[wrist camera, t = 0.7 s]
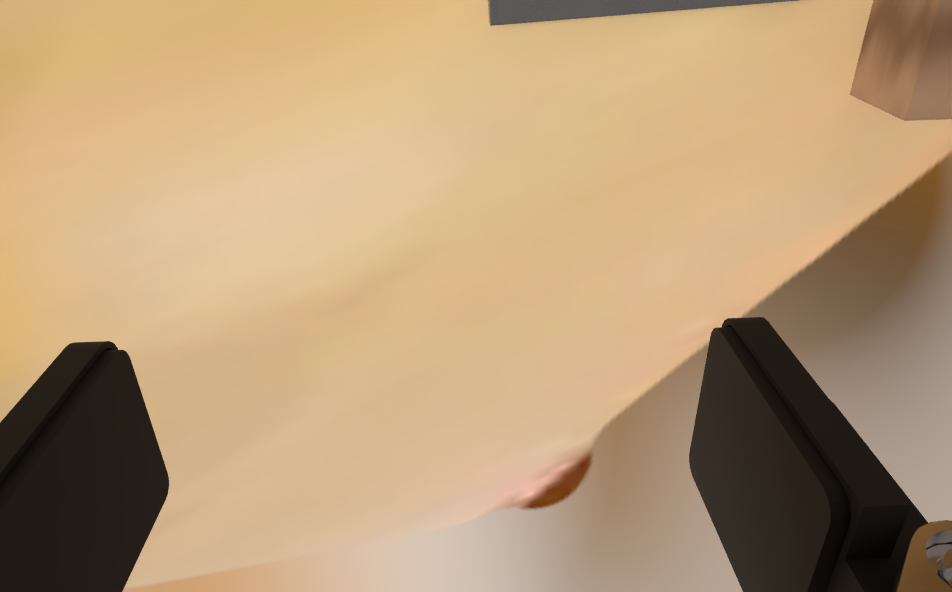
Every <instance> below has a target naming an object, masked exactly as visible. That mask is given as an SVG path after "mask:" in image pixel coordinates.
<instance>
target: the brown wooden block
mask: <svg viewBox="0 0 952 592" xmlns="http://www.w3.org/2000/svg"><path fill="white" fill-rule="evenodd" d="M850 95H852V96H854V97H856V98H858V99H860V100H862V101H864V102H866V103H868V104H871V105H873V106H875V107H877V108H879V109H881V110H883V111H885V112H887V113H889V114H892V115H894V116H896V117H898V118H900V119H902V120H904V121H909V120H938V119H952V0H874V1H873V5H872V9H871V13H870V17H869V20H868V24H867V28H866V32H865V36H864V40H863V44H862V48H861V52H860V56H859V60H858V64H857V68H856V72H855V76H854V80H853V84H852V88H851V92H850Z"/></svg>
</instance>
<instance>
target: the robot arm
mask: <svg viewBox="0 0 952 592" xmlns="http://www.w3.org/2000/svg"><path fill="white" fill-rule="evenodd" d="M689 462H690V469H691V473H692V476H693V478H694V481H695V483H696V485H697V487H698V490H699V492H700V494H701V497H702V499H703V501H704V503H705V506H706V508H707V510H708V513H709V515H710V517H711V519H712V522H713V524H714V526H715V528H716V531H717V533H718V535H719V537H720V540H721V542H722V544H723V547H724V549H725V551H726V554H727V556H728V558H729V561H730V563H731V565H732V567H733V570H734V572H735V574H736V577H737V578H738V581H739V583H740V586H741V588H742V590H743V592H952V521H948V520H944V521H937V522H929V523H928V522H927V521H926V520H925V518H924V517H923V516H922V514H921V513H920V512H919V511H918V509H917V508H916V507H915V506H914V504H913V503H912V502H911V501H910V499H909V498H908V497H907V496H906V494H905V493H904V492H903V490H902V489H901V488H900V487H899V485H898V484H897V483H896V482H895V480H894V479H893V478H892V476H891V475H890V474H889V473H888V472H887V470H886V469H885V468H884V467H883V465H882V464H881V463H880V461H879V460H878V459H877V458H876V456H875V455H874V454H873V452H872V451H871V450H870V449H869V447H868V446H867V445H866V443H865V442H864V441H863V440H862V438H861V437H860V436H859V435H858V434H857V432H856V431H855V430H854V429H853V427H852V426H851V424H850V423H849V422H848V421H847V419H846V418H845V417H844V416H843V414H842V413H841V412H840V411H839V409H838V408H837V407H836V406H835V404H834V403H833V402H831V400H830V399H828V397H827V396H826V395H825V394H824V392H823V391H822V390H821V389H820V387H819V386H818V385H817V383H816V382H815V381H814V379H813V378H812V377H811V376H810V374H809V373H808V372H807V371H806V369H805V368H804V367H803V365H802V364H801V363H800V362H799V360H798V359H797V358H796V357H795V355H794V354H793V353H792V351H791V350H790V349H789V348H788V347H787V345H786V344H785V343H784V341H783V340H782V339H781V338H780V336H779V335H778V334H777V333H776V331H775V330H774V329H773V327H772V326H771V325H770V323H769V322H768V321H767V320H766V319H765V318H762V317H756V318H755V317H754V318H728V319H726V320H725V321H724V323H723V324H722V328H715V329H713V331H712V333H711V337H710V342H709V348H708V353H707V359H706V364H705V370H704V376H703V381H702V386H701V392H700V398H699V404H698V409H697V414H696V420H695V425H694V431H693V436H692V442H691V447H690V454H689ZM168 489H169V478H168V473H167V470H166V467H165V464H164V461H163V458H162V455H161V452H160V449H159V446H158V442H157V439H156V436H155V433H154V430H153V427H152V424H151V421H150V418H149V415H148V412H147V409H146V406H145V403H144V400H143V396H142V393H141V390H140V387H139V384H138V381H137V378H136V375H135V372H134V369H133V366H132V363H131V360H130V357H129V355H128V353H127V352H126V351H124V350H118V348H117V347H116V345H115V344H114V343H112V342H110V341H105V342H78V343H71V344H69V345H68V346H67V347H65V349H64V350H63V351H62V352H61V353H60V354H59V356H58V357H57V358H56V359H55V360H54V361H53V362H52V364H51V365H50V366H49V367H48V368H47V369H46V371H45V372H44V373H43V374H42V375H41V376H40V377H39V379H38V380H37V381H36V382H35V383H34V384H33V386H32V387H31V388H30V389H29V390H28V391H27V392H26V394H25V395H24V396H23V397H22V398H21V399H20V401H19V402H18V403H17V404H16V405H15V406H14V408H13V409H12V410H11V411H10V412H9V413H8V414H7V416H6V417H5V418H4V419H3V420H2V421H1V423H0V592H122V591H123V589H124V587H125V584H126V582H127V580H128V578H129V576H130V574H131V572H132V570H133V567H134V565H135V563H136V561H137V559H138V557H139V555H140V553H141V551H142V548H143V546H144V544H145V542H146V540H147V538H148V536H149V534H150V532H151V529H152V527H153V525H154V523H155V521H156V519H157V517H158V515H159V512H160V510H161V508H162V506H163V504H164V502H165V500H166V497H167V494H168Z"/></svg>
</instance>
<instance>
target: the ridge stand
mask: <svg viewBox="0 0 952 592" xmlns="http://www.w3.org/2000/svg"><path fill="white" fill-rule="evenodd" d="M785 1H797V0H488V6H489V23H490V25H491V26H492V25H504V24H516V23H528V22H540V21H553V20H565V19H577V18H589V17H602V16H614V15H626V14H638V13H650V12H663V11H675V10H687V9H699V8H712V7H724V6H736V5H748V4H760V3H773V2H785Z"/></svg>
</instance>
